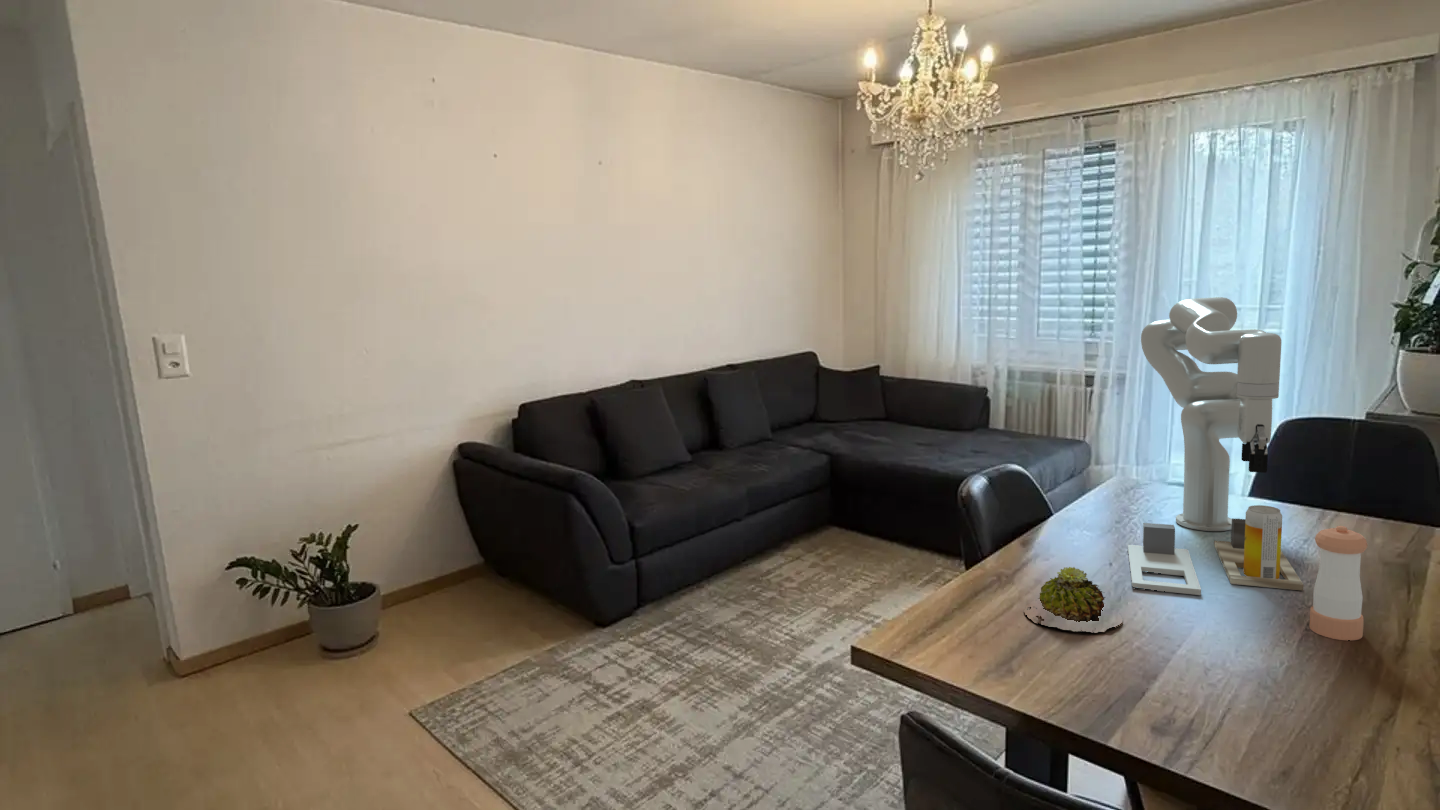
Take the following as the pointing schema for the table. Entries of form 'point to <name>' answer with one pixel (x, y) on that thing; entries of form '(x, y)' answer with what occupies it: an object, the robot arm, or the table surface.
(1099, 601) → the cactus
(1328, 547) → the pepper shaker
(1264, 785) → the table surface
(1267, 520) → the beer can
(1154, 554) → the white board with cutout
